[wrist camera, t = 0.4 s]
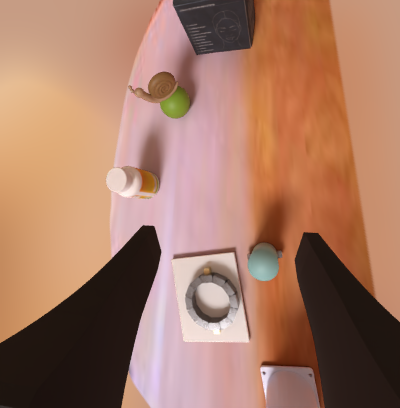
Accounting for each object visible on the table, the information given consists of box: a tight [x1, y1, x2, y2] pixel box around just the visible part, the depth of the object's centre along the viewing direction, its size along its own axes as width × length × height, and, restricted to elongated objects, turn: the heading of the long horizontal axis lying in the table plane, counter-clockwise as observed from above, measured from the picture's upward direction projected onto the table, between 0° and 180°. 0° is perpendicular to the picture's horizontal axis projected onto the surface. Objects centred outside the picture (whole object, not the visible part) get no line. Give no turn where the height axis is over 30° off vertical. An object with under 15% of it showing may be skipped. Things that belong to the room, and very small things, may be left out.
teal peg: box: [247, 242, 282, 281], centre depth 34 cm, size 4×5×8 cm
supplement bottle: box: [106, 166, 159, 199], centre depth 40 cm, size 5×5×10 cm
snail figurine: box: [128, 72, 190, 118], centre depth 37 cm, size 5×6×12 cm
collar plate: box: [171, 252, 250, 342], centre depth 39 cm, size 15×12×3 cm
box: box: [173, 0, 255, 55], centre depth 35 cm, size 11×7×10 cm, turn 84°
